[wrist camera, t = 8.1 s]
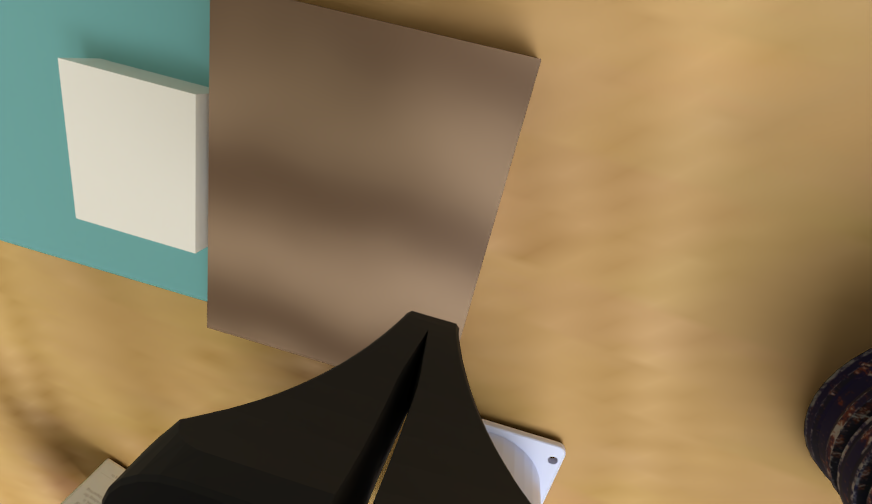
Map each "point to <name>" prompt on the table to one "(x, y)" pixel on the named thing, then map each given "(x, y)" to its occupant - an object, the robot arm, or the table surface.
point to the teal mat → (46, 132)
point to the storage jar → (844, 430)
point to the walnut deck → (350, 172)
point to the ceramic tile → (137, 151)
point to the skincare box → (96, 484)
